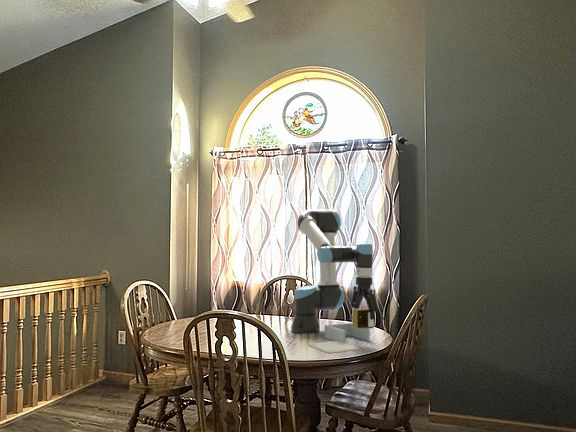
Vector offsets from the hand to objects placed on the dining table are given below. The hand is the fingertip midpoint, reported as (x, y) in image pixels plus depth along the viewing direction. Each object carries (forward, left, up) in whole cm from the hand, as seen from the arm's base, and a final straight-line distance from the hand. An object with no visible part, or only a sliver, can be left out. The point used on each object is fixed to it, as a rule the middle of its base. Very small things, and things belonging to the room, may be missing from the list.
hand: (363, 324), depth 245 cm
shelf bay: (-13, 0, -9) cm, 16 cm away
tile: (-1, -16, -9) cm, 19 cm away
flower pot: (-5, -1, +3) cm, 6 cm away
